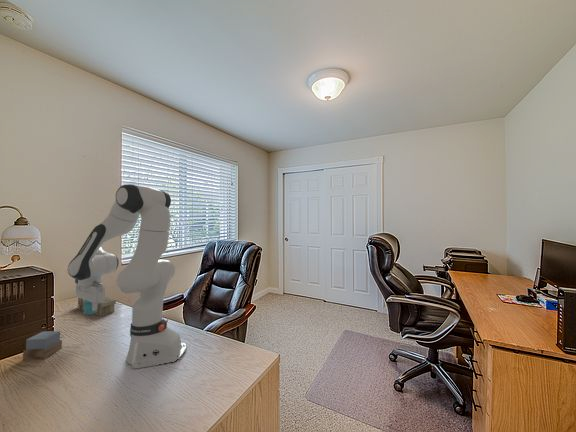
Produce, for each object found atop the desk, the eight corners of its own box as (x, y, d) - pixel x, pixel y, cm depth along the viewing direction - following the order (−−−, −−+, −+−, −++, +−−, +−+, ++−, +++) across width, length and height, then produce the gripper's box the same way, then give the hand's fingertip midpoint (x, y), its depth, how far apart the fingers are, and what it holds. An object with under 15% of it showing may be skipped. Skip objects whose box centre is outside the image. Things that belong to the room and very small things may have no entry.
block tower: (76, 309, 150) (101, 317, 136) (76, 296, 150) (101, 302, 137) (91, 305, 157) (115, 312, 143) (91, 292, 157) (116, 298, 144)
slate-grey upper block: (59, 340, 102) (60, 331, 103) (44, 349, 96) (45, 339, 96) (42, 340, 102) (42, 331, 102) (25, 349, 95) (26, 339, 95)
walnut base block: (61, 349, 103) (62, 340, 103) (45, 359, 95) (45, 349, 95) (41, 350, 102) (41, 340, 102) (22, 361, 94) (23, 350, 94)
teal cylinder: (99, 310, 115) (99, 300, 115) (92, 314, 110) (92, 303, 111) (88, 310, 115) (88, 300, 115) (80, 314, 110) (80, 304, 110)
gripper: (109, 281, 111) (109, 310, 111) (88, 276, 120) (88, 303, 120) (93, 284, 105) (93, 315, 105) (73, 279, 115) (72, 307, 115)
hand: (90, 309), depth 113 cm, fingers closed on teal cylinder, 5 cm apart
